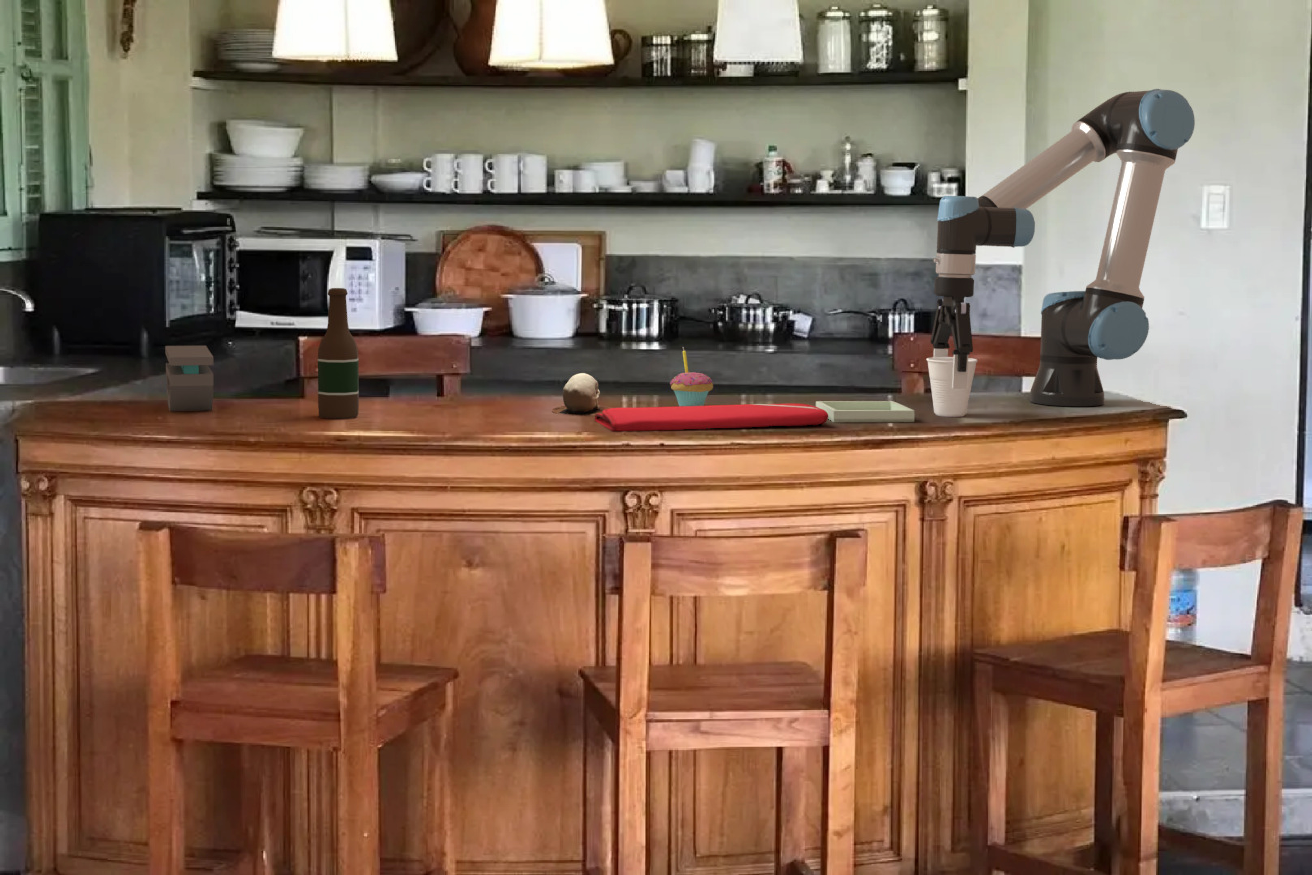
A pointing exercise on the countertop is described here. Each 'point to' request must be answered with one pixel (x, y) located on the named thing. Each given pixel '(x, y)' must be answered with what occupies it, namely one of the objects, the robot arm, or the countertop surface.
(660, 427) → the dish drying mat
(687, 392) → the cupcake
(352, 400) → the beer bottle
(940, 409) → the cup
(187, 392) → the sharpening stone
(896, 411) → the tray
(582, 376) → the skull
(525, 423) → the countertop surface
